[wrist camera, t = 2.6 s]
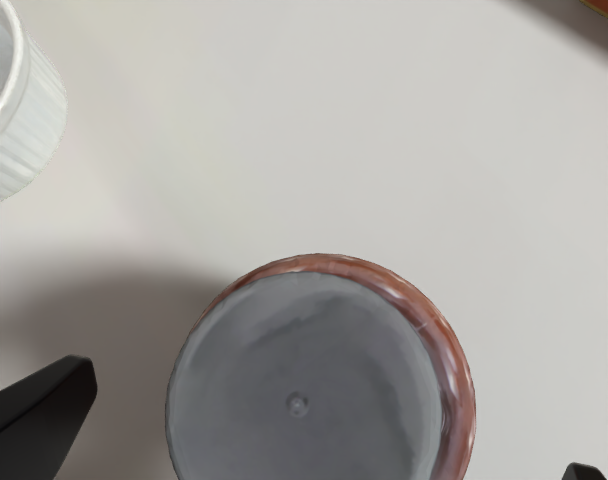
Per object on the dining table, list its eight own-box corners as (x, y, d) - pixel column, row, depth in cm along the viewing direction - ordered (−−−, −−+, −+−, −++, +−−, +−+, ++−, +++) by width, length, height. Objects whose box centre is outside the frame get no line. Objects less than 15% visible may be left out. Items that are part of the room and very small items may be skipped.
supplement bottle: (221, 392, 19) (14, 392, 8) (342, 274, 19) (302, 127, 9) (341, 533, 17) (284, 774, 6) (469, 399, 18) (618, 412, 7)
